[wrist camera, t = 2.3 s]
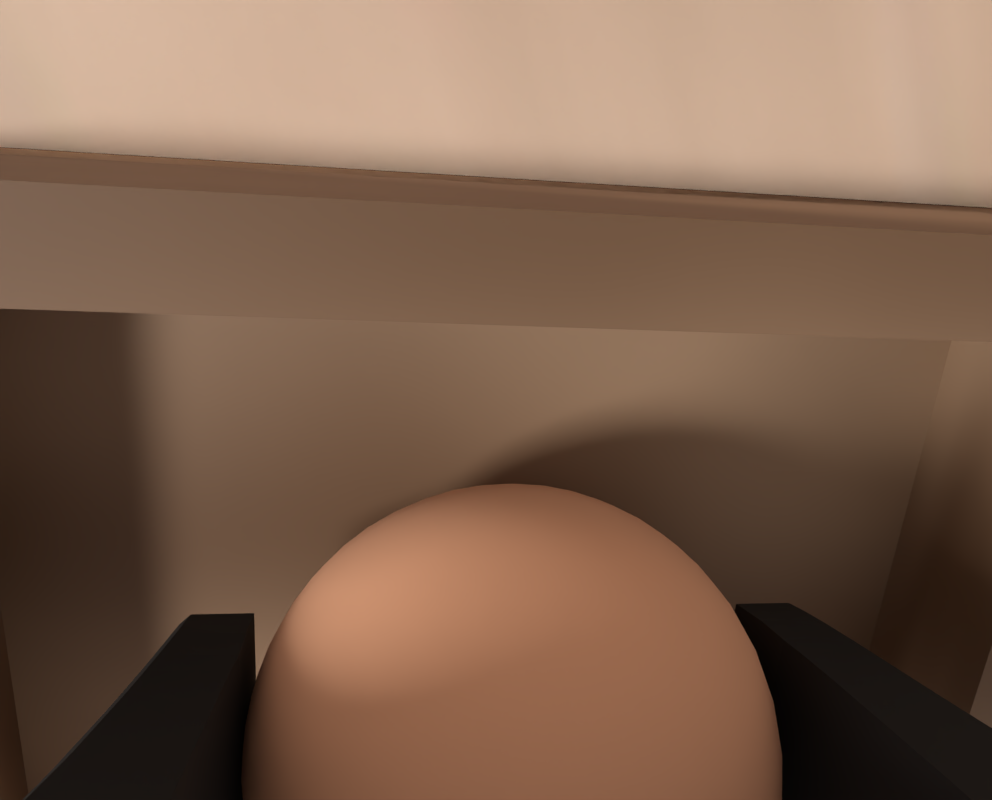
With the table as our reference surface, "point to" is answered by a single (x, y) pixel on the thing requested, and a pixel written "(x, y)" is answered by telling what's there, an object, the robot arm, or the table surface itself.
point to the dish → (471, 399)
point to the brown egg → (511, 664)
